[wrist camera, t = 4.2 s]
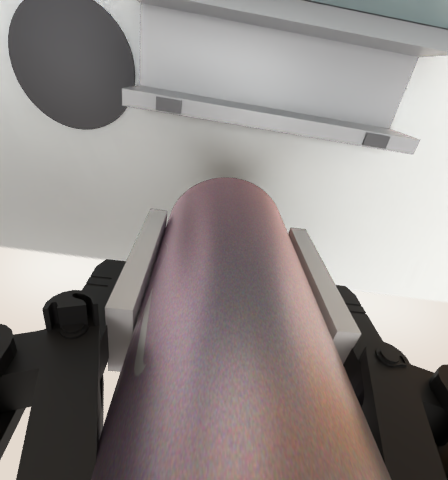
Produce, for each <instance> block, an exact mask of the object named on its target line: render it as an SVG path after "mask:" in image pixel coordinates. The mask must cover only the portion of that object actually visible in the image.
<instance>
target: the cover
mask: <svg viewBox="0 0 448 480" xmlns="http://www.w3.org/2000/svg"><path fill="white" fill-rule="evenodd" d="M303 1H308V2H313V3H318V4H323V5H328V6H333V7H338V8H342V9H347V10H352V11H357V12H362V13H367V14H372V15H377V16H382V17H387V18H392V19H397V20H401V21H406V22H411V23H416V24H421V25H426V26H431V27H436V28H441V29H446V30H448V0H303Z"/></svg>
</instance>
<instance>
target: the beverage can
mask: <svg viewBox="0 0 448 480" xmlns="http://www.w3.org/2000/svg"><path fill="white" fill-rule="evenodd" d="M91 480H391V478H390V475H389V473H388V470H387V468H386V466H385V463H384V461H383V459H382V456H381V454H380V451H379V449H378V447H377V444H376V442H375V440H374V437H373V435H372V432H371V430H370V428H369V425H368V423H367V420H366V418H365V416H364V413H363V411H362V409H361V406H360V404H359V401H358V399H357V397H356V394H355V392H354V390H353V387H352V385H351V382H350V380H349V378H348V375H347V373H346V370H345V368H344V366H343V363H342V361H341V359H340V356H339V354H338V351H337V349H336V347H335V344H334V342H333V340H332V337H331V335H330V332H329V330H328V328H327V325H326V323H325V320H324V318H323V316H322V313H321V311H320V309H319V306H318V304H317V301H316V299H315V297H314V294H313V292H312V290H311V287H310V285H309V282H308V280H307V278H306V275H305V273H304V270H303V268H302V266H301V263H300V261H299V259H298V256H297V254H296V251H295V249H294V247H293V244H292V242H291V240H290V237H289V235H288V232H287V230H286V228H285V225H284V223H283V221H282V218H281V216H280V213H279V211H278V209H277V207H276V205H275V203H274V202H273V200H272V199H271V198H270V196H269V195H268V194H267V193H266V192H264V191H263V190H262V189H261V188H259V187H258V186H256V185H254V184H252V183H250V182H248V181H245V180H241V179H237V178H214V179H210V180H206V181H203V182H201V183H199V184H197V185H195V186H193V187H191V188H190V189H189V190H187V191H186V192H185V193H184V194H183V195H182V196H181V197H180V198H179V199H178V201H177V202H176V203H175V205H174V207H173V209H172V211H171V214H170V217H169V220H168V223H167V226H166V230H165V233H164V236H163V239H162V242H161V245H160V249H159V252H158V255H157V258H156V261H155V264H154V268H153V271H152V274H151V277H150V280H149V283H148V287H147V290H146V293H145V296H144V299H143V303H142V306H141V309H140V312H139V315H138V318H137V322H136V325H135V328H134V331H133V334H132V337H131V341H130V344H129V347H128V350H127V353H126V356H125V360H124V363H123V366H122V369H121V372H120V376H119V379H118V382H117V385H116V388H115V391H114V394H113V398H112V401H111V404H110V407H109V410H108V413H107V417H106V420H105V423H104V426H103V429H102V432H101V436H100V439H99V442H98V449H97V458H96V464H95V468H94V471H93V474H92V478H91Z"/></svg>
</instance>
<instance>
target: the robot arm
mask: <svg viewBox="0 0 448 480" xmlns="http://www.w3.org/2000/svg"><path fill="white" fill-rule="evenodd" d="M166 220H167V211H164V210H157V209H150V211H149V214H148V216H147V218H146V220H145V222H144V224H143V226H142V229H141V231H140V233H139V235H138V237H137V239H136V242H135V244H134V246H133V248H132V250H131V252H130V254H129V257H128V259H127V261H117V260H108V259H106V260H105V261H103V262H102V263H101V264H99V265H98V266H97V267H96V268H95V270H94V271H93V273H92V275H91V277H90V278H89V279H88V281H87V284H86V285H85V286H84V288H83V290H82V291H79V290H72V291H67V292H62V293H61V294H58V295H56V296H54V297H52V298H51V299H50V300H49V301H47V302H46V304H45V306H44V307H43V314H44V319H45V325H46V329H44V330H40V331H36V332H29V333H22V334H15V335H13V334H12V330H11V329H10V328H8V327H7V326H6V325H2V324H0V459H1V457H2V455H3V453H4V451H5V449H6V447H7V445H8V443H9V441H10V439H11V437H12V435H13V433H14V431H15V429H16V427H17V425H18V423H19V421H20V418H21V416H22V414H23V412H24V410H25V408H26V407H31V411H30V416H29V421H28V425H27V430H26V435H25V440H24V445H23V450H22V454H21V459H20V464H19V469H18V474H17V478H16V480H91V478H92V474H93V471H94V468H95V464H96V458H97V449H98V442H99V439H100V436H101V432H102V429H103V391H104V389H103V388H104V387H103V386H104V383H103V373H104V370H105V367H106V365H107V362H108V371H120V372H121V369H122V366H123V363H124V360H125V356H126V353H127V350H128V347H129V344H130V341H131V337H132V334H133V331H134V328H135V325H136V322H137V318H138V315H139V312H140V309H141V306H142V303H143V299H144V296H145V293H146V290H147V287H148V283H149V280H150V277H151V274H152V271H153V268H154V264H155V261H156V258H157V255H158V252H159V249H160V245H161V242H162V239H163V236H164V233H165V230H166ZM289 237H290V240H291V242H292V244H293V247H294V249H295V251H296V254H297V256H298V259H299V261H300V263H301V266H302V268H303V270H304V273H305V275H306V278H307V280H308V282H309V285H310V287H311V290H312V292H313V294H314V297H315V299H316V301H317V304H318V306H319V309H320V311H321V313H322V316H323V318H324V320H325V323H326V325H327V328H328V330H329V332H330V335H331V337H332V340H333V342H334V344H335V347H336V349H337V351H338V354H339V356H340V359H341V361H342V363H343V366H344V368H345V370H346V373H347V375H348V378H349V380H350V382H351V385H352V387H353V390H354V392H355V394H356V397H357V399H358V401H359V404H360V406H361V409H362V411H363V413H364V416H365V418H366V420H367V423H368V425H369V428H370V430H371V432H372V435H373V437H374V440H375V442H376V444H377V447H378V449H379V451H380V454H381V456H382V459H383V461H384V463H385V466H386V468H387V470H388V473H389V475H390V478H391V480H448V365H442V366H441V367H439V368H438V369H437V371H436V372H435V373H433V372H430V371H427V370H425V369H422V368H419V367H416V366H413V365H411V364H410V363H409V361H408V359H407V358H406V357H405V356H404V355H403V354H402V353H401V351H399V350H398V349H397V348H395V347H394V346H392V345H390V344H388V343H385V342H383V341H382V339H381V337H380V336H379V334H378V332H377V331H376V329H375V327H374V326H373V324H372V322H371V321H370V319H369V317H368V316H367V315H366V314H365V313H366V312H365V311H364V309H363V307H361V304H360V302H359V301H358V299H357V297H356V296H355V294H353V293H352V292H351V291H350V290H349V289H348V288H347V287H346V286H339V285H335V283H334V281H333V280H332V278H331V276H330V274H329V272H328V270H327V268H326V266H325V265H324V263H323V261H322V259H321V257H320V255H319V253H318V252H317V250H316V248H315V246H314V244H313V242H312V240H311V238H310V237H309V235H308V233H307V231H306V229H299V228H290V231H289Z"/></svg>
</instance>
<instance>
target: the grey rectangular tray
mask: <svg viewBox="0 0 448 480" xmlns="http://www.w3.org/2000/svg"><path fill="white" fill-rule="evenodd" d="M138 1H139V2H140V3H141V16H140V80H139V85H138V86H132V87H127V88H122V106H128V107H134V108H140V109H146V110H152V111H158V112H164V113H170V114H176V115H181V116H187V117H193V118H199V119H205V120H211V121H217V122H223V123H229V124H235V125H241V126H247V127H253V128H258V129H264V130H270V131H276V132H282V133H288V134H294V135H300V136H306V137H312V138H318V139H324V140H330V141H335V142H341V143H347V144H353V145H359V146H365V147H371V148H377V149H383V150H389V151H395V152H401V153H407V154H414V152H415V150H416V148H417V146H418V144H419V141H420V140H419V139H416V138H413V137H411V136H408V135H405V134H402V133H400V132H397V131H394V130H391V129H389V128H390V126H391V123H392V121H393V119H394V116H395V114H396V111H397V109H398V106H399V104H400V102H401V99H402V97H403V94H404V92H405V89H406V87H407V85H408V82H409V80H410V77H411V75H412V72H413V70H414V68H415V65H416V63H417V60H418V58H419V57H428V56H443V55H448V30H446V29H441V28H436V27H431V26H426V25H421V24H416V23H411V22H406V21H401V20H397V19H392V18H387V17H382V16H377V15H372V14H367V13H362V12H357V11H352V10H347V9H342V8H338V7H333V6H328V5H323V4H318V3H313V2H308V1H303V0H138Z"/></svg>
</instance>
